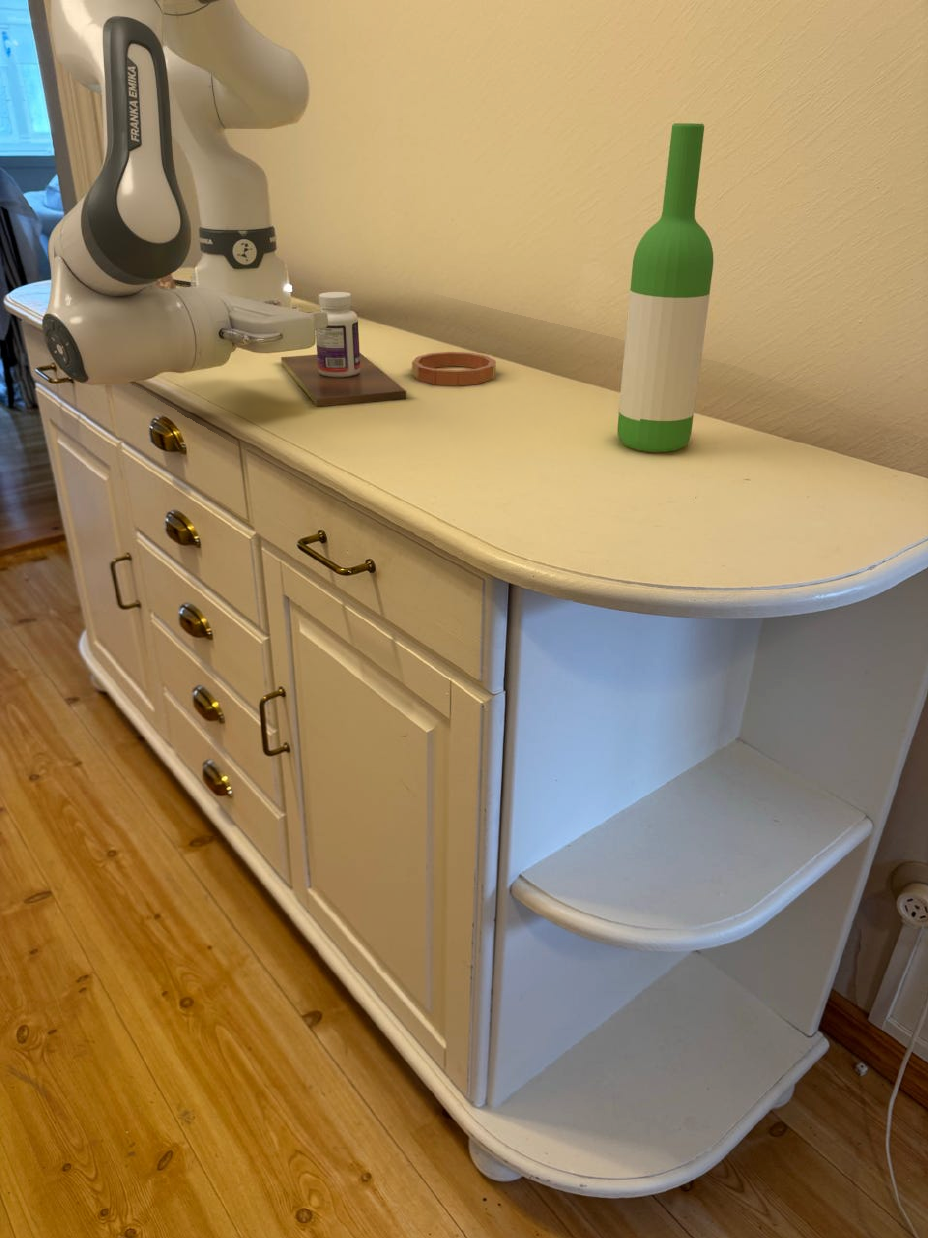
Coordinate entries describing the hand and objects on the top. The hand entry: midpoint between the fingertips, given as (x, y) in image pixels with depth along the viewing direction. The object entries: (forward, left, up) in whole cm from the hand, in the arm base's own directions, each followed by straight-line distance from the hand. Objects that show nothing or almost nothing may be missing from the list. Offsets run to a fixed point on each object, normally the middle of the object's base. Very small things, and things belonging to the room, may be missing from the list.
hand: (300, 312), depth 112 cm
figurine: (-74, -12, -9) cm, 76 cm away
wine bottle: (+34, +30, -9) cm, 46 cm away
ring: (0, +20, -9) cm, 22 cm away
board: (-2, +5, -9) cm, 11 cm away
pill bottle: (-2, +5, -8) cm, 10 cm away
